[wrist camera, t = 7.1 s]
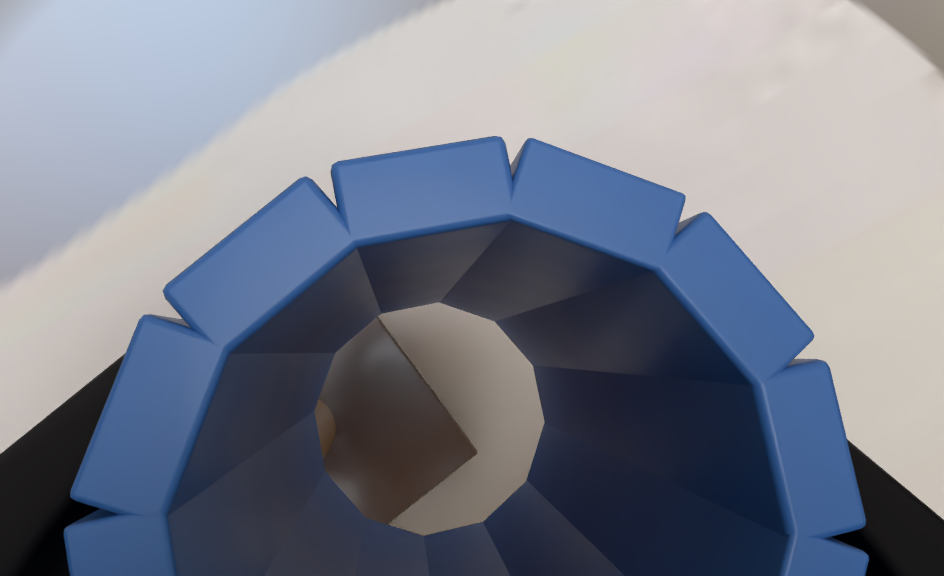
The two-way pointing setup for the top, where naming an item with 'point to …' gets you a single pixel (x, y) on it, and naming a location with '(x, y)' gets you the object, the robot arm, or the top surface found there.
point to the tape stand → (384, 427)
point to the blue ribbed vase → (533, 332)
